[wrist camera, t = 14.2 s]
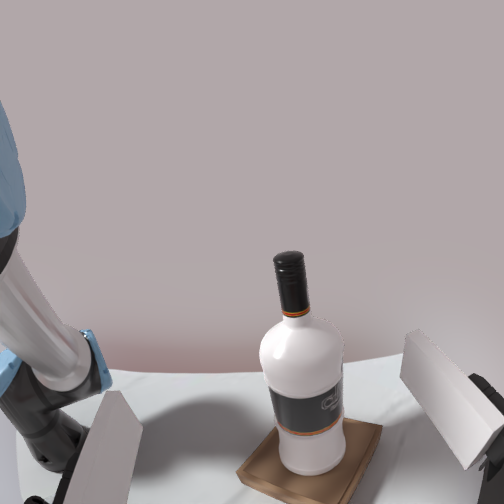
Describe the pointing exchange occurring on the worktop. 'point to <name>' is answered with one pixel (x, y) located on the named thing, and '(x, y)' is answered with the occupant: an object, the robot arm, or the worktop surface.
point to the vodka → (304, 376)
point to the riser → (319, 486)
